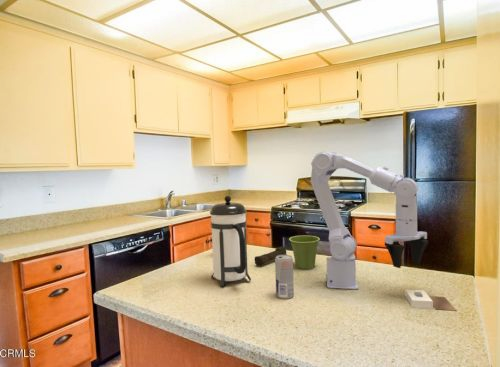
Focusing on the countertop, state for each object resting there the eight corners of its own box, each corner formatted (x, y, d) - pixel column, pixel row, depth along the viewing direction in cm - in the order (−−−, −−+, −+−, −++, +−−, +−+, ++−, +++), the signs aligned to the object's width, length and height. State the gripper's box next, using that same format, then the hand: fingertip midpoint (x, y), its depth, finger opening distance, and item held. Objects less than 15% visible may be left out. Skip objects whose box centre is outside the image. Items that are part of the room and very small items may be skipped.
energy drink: (283, 291, 103) (282, 253, 102) (297, 295, 99) (296, 256, 98) (272, 296, 99) (271, 257, 99) (286, 300, 95) (285, 260, 95)
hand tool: (261, 266, 127) (260, 254, 128) (254, 265, 130) (253, 254, 130) (291, 256, 141) (290, 246, 141) (284, 255, 144) (283, 245, 144)
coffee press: (199, 286, 110) (195, 198, 109) (223, 271, 125) (220, 194, 123) (245, 292, 103) (241, 198, 101) (264, 276, 117) (262, 194, 116)
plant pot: (284, 265, 130) (283, 237, 130) (308, 261, 135) (308, 234, 135) (300, 273, 119) (300, 243, 119) (326, 268, 124) (326, 239, 124)
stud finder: (412, 309, 88) (412, 298, 88) (405, 297, 96) (405, 288, 96) (432, 310, 87) (432, 299, 87) (424, 298, 94) (424, 288, 94)
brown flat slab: (435, 309, 86) (435, 308, 86) (425, 296, 95) (425, 295, 95) (456, 310, 85) (456, 310, 85) (444, 297, 94) (444, 296, 94)
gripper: (398, 223, 89) (399, 272, 89) (436, 219, 94) (436, 265, 95) (379, 220, 95) (379, 265, 96) (415, 216, 101) (415, 259, 101)
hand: (406, 265), depth 96 cm, fingers open, 7 cm apart
